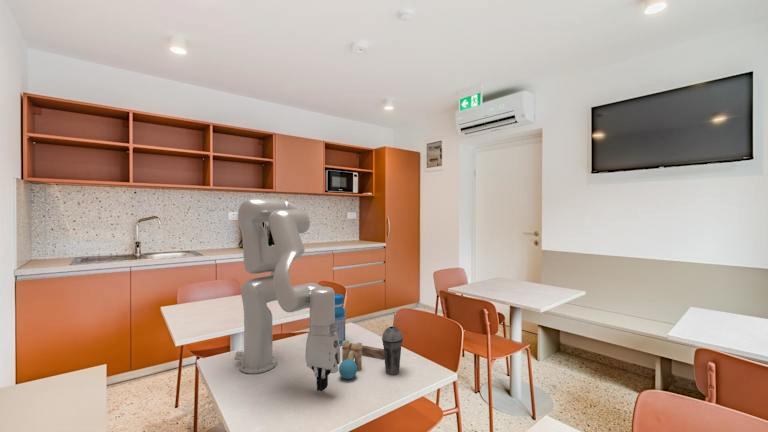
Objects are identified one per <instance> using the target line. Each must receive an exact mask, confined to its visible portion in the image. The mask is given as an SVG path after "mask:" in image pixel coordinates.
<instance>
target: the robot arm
mask: <svg viewBox="0 0 768 432" xmlns="http://www.w3.org/2000/svg"><path fill="white" fill-rule="evenodd" d="M237 210H238V211H237V221H238V225H239V228H240V232H241V238H242V252H243V265H244V269H245V271H246V272H247V273H248V274H250V275H254V274H255V275H256V274H263V273H270V275H263V276H257V277H253V278H250V279H248V280H246V281H245V282H243V284H242V286H241V288H240V298H241V301H242V306H243V327H244V329H243V330H244V331H243V332H244V333H243V335H244V336H243V347H244V348H243V351H236V352H235V356H234V360H235V361H240V363H239V367H238V368H239V369H238V370H240V371H241V372H242V373H244V374H249V375H250V374H251V375H252V374H253V375H255V374H259V373H260V374H261V373H264V372H265V373H266V372H267V371H270V370H272V369H273V368H275V367H276V366H277V364H278V359H277V358H276V357H275V356H273V313H272V311H271V309H270V308H269V306H268V305H267V304H268V303H271V302H275V301H277V302H278V305H279V306H280V308H281V310H283V311H284V312H286V313H294V312H299V311H301V310H305V309H309V331H308V333H307V337H306V342H305V354H304V355H305V357H304V358H305V363H306V367H307V368H309V369H311V370H312V372H314V377H315V378H316V390H317V391H319V392H324V390H325V389H327V387H328V385H329V383H328V382H329V375H330V374H336V373H337V372H339V366H338V365H340V364H341V348H340V346H341V345H340V346H339V339H338V335H337V333H336V332H337V331H338V327H336V326H335V294H336V293H335V290H334V288H333V287H330V286H322V285H321V284H318V283H316V282H307V283H301V284H297V285H292V284H291V283H292V282H291V280H290V278H291V277H290V268H291V265H292V264H293V262H294V261H296V260H297V259H299V258H301V257H302V256H303V255H304V254H305V247H304V245H303V241H302V239H301V235H300V234H304V233H307V231H308V230H309V228H310V226H311V225H310V224H311V221H310V217H309V215H308V214H307V213H306V211H305V210H303V209H302V208H300V207H298V206H297V205H295V204H294V203H292V202H290V201H288V200H286V199H281V198H266V197H265V198H264V197H263V198H262V197H253V198H248V199H246V200H244V201H242V202H241V203H240V205H239V207H238V209H237ZM261 223H268V228H269V230H270V234H271V236H272V237H271V238H272V240H273V242H274V245H269V241H268V239H269V238H268V234H267V233H268V232H267V231H266V229H265V227H264V226H263V225H262V224H261Z"/></svg>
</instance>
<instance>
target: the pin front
mask: <svg viewBox="0 0 768 432" xmlns="http://www.w3.org/2000/svg"><path fill="white" fill-rule="evenodd" d="M347 359H351V360H353V361H354V362H355V343H352V346H351V349H350V352H349V354H348V357H347Z"/></svg>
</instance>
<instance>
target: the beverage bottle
mask: <svg viewBox="0 0 768 432" xmlns="http://www.w3.org/2000/svg"><path fill="white" fill-rule="evenodd" d="M344 301H345V296H344V295H343V294H341V293H340V294H339V293H335V326H336V327H338V331H337V332H336V333H337V335H338V339H339V346H342V342H343V341H346V320H347V315H346V308H345V306H344V303H345V302H344Z"/></svg>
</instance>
